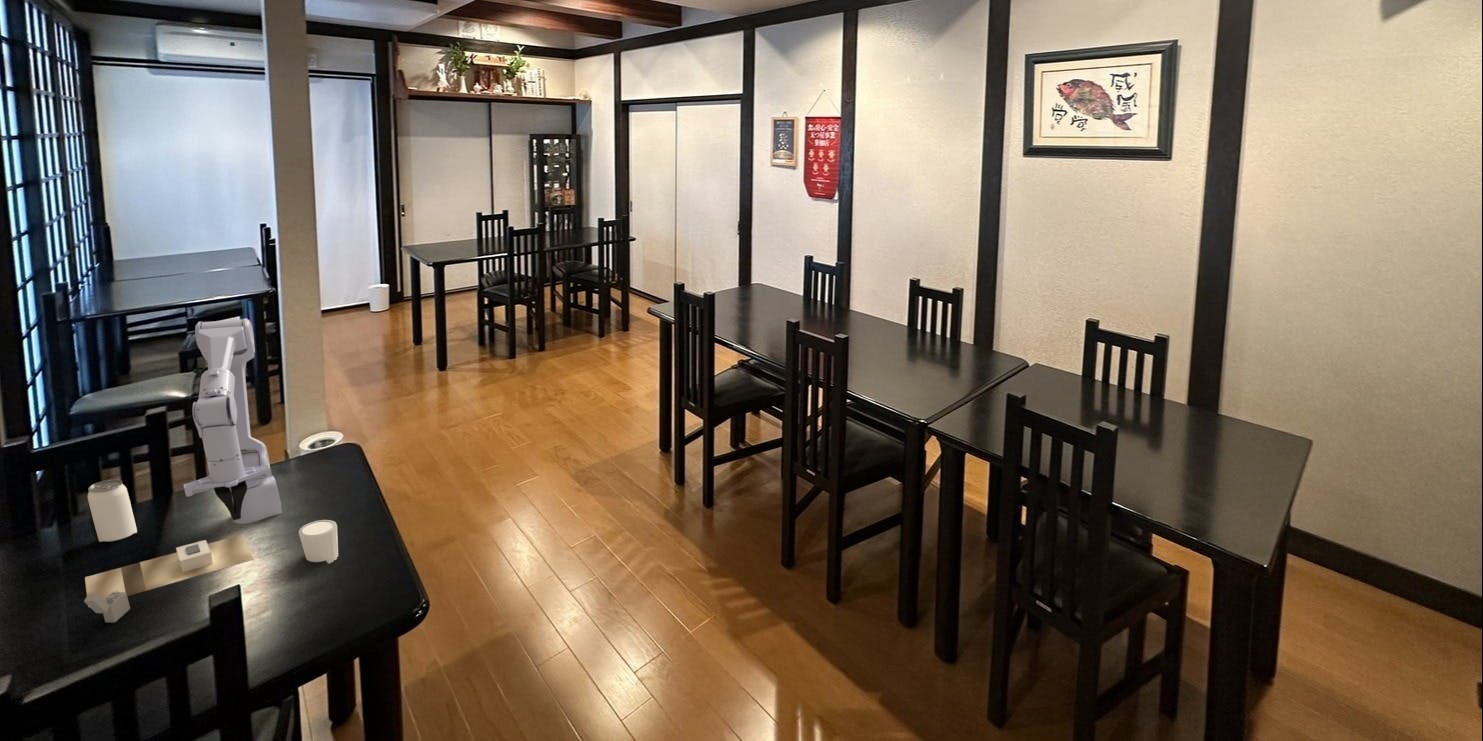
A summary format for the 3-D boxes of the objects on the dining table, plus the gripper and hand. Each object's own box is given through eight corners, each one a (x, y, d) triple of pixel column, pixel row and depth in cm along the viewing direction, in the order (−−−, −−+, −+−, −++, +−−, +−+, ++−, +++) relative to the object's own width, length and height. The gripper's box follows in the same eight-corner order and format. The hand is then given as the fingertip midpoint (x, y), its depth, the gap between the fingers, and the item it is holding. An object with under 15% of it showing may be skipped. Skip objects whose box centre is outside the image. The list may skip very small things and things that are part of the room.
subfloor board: (243, 538, 169) (242, 534, 169) (254, 563, 160) (253, 559, 160) (86, 581, 153) (84, 577, 153) (89, 612, 145) (88, 607, 144)
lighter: (122, 612, 145) (112, 574, 142) (132, 612, 145) (122, 574, 142) (93, 638, 138) (82, 597, 135) (104, 637, 138) (93, 597, 135)
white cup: (303, 571, 158) (298, 539, 156) (303, 554, 164) (298, 523, 162) (342, 562, 161) (337, 532, 159) (340, 546, 167) (336, 516, 165)
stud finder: (208, 550, 163) (205, 538, 162) (213, 563, 158) (210, 551, 157) (178, 558, 160) (175, 546, 159) (182, 572, 155) (179, 559, 154)
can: (117, 547, 165) (103, 494, 161) (91, 543, 166) (76, 490, 162) (145, 531, 171) (133, 480, 167) (119, 527, 172) (106, 476, 168)
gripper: (182, 472, 150) (196, 537, 154) (270, 453, 159) (281, 514, 163) (177, 459, 155) (190, 522, 159) (262, 441, 164) (273, 501, 168)
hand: (236, 517), depth 162 cm, fingers closed
